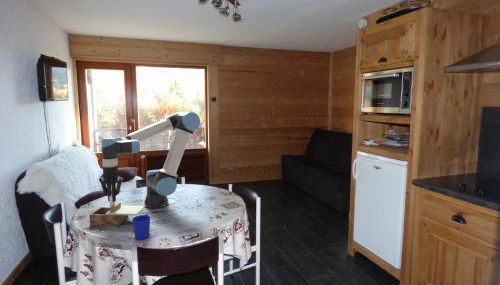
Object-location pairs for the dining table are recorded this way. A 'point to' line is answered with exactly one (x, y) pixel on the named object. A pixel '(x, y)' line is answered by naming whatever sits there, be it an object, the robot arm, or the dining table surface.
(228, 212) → the dining table surface
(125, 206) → the lid
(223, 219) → the dining table surface
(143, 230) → the mug
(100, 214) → the box
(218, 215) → the dining table surface
